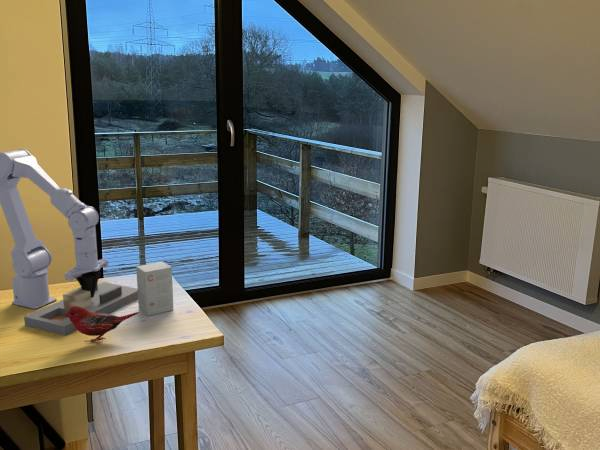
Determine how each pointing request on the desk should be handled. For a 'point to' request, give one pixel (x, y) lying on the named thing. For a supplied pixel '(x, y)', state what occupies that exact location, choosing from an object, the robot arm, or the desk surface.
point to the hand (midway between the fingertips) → (89, 297)
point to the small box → (155, 288)
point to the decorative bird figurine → (94, 322)
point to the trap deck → (103, 302)
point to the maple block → (77, 298)
